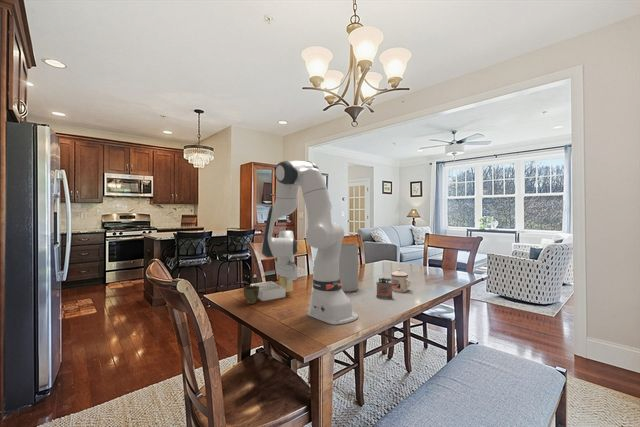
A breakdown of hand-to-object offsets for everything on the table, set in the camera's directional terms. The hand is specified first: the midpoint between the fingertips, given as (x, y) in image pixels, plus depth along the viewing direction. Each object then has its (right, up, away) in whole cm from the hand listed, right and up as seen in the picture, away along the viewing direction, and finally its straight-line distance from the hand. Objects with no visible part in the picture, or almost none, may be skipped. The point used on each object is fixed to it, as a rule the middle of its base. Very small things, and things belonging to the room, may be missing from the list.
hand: (286, 284), depth 158 cm
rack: (-9, -4, -6) cm, 12 cm away
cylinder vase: (+34, -4, +5) cm, 34 cm away
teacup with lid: (+63, -4, +1) cm, 63 cm away
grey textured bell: (-14, -4, -20) cm, 25 cm away
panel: (0, -4, 0) cm, 4 cm away
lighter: (+51, -4, -11) cm, 52 cm away
